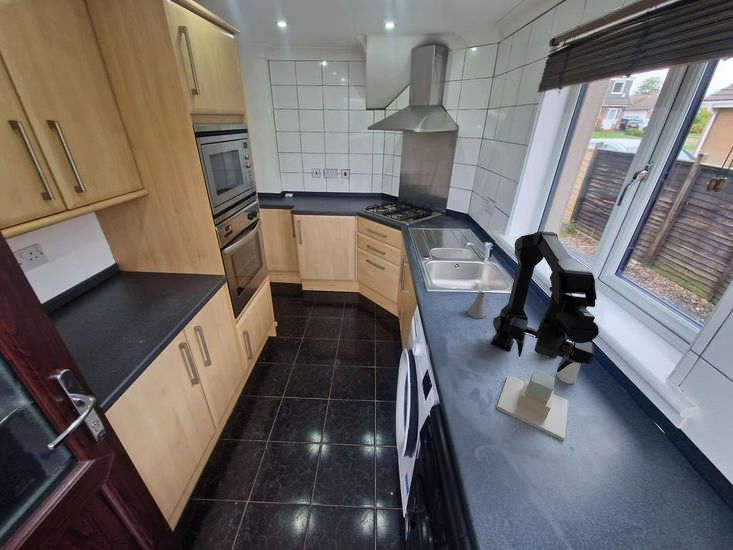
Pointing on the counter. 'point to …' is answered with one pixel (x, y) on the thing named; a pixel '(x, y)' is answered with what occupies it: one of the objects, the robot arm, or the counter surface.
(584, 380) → the counter surface
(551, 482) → the counter surface
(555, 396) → the build base
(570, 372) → the pepper shaker
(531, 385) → the sage cube
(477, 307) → the flask
